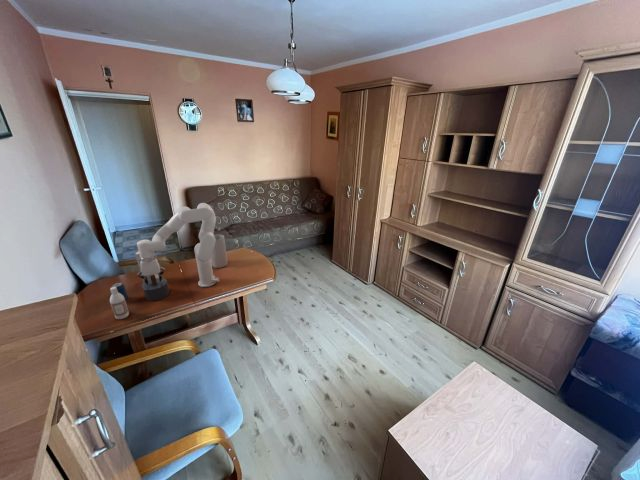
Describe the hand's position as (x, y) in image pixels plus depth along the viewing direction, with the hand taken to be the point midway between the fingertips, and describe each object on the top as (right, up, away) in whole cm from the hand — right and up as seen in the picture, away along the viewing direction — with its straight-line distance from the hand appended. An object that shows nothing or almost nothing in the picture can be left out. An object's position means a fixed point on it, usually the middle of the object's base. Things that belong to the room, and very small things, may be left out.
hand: (154, 282), depth 176 cm
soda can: (-20, -12, -2) cm, 23 cm away
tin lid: (0, -2, +1) cm, 2 cm away
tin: (0, -10, +4) cm, 10 cm away
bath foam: (-9, -18, -16) cm, 26 cm away
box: (-14, -3, +19) cm, 24 cm away
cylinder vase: (+27, +7, +45) cm, 53 cm away
